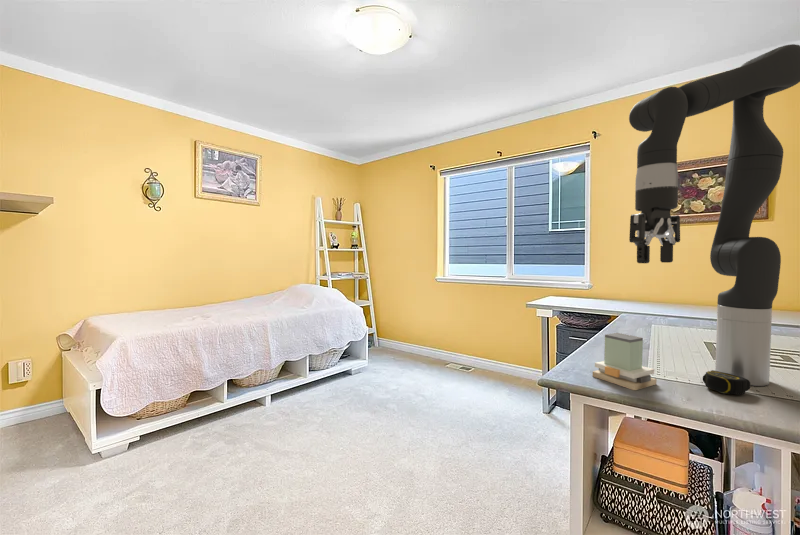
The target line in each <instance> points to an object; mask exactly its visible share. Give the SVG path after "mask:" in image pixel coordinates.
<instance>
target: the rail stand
mask: <svg viewBox="0 0 800 535" xmlns="http://www.w3.org/2000/svg"><path fill="white" fill-rule="evenodd" d="M651 375H652V374H651ZM651 375H647V376H643V377H639V378H637V382H632V381H629V380H626V379H623V378H619V377H614V376H611V375H608V374H605V373H604V372H600V371H599V369H598V370H593V371H592V377H594V378H595V379H600V380H603V381H605V382H608V383H611V384H615V385H618V386H620V387H624V388H627V389H629V390H632V391H637V390H641V389H645V388H649V387H652V386H656V385H657V383H658V382H657V378H654V377H652V376H651Z"/></svg>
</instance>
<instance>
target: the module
mask: <svg viewBox="0 0 800 535" xmlns="http://www.w3.org/2000/svg"><path fill="white" fill-rule="evenodd" d="M643 341H644V340H643V337H640V336H635V335H631V334H630V335H629V334H627V333H622V332H621V333H620V332H612V333H607V334H604V359H603V361H604V364H607V365H611V366H614V367H618V368H621V369H624V370H628V371H632V370H636V369H640V368H642V366H643V345H644V342H643Z"/></svg>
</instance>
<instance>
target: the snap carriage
mask: <svg viewBox="0 0 800 535" xmlns="http://www.w3.org/2000/svg"><path fill="white" fill-rule="evenodd" d="M594 368H597V369H598V370H599V371H600V372H604V373H605V374H608V375H611V376H614V377H619V378H623V379H626V380H629V381H632V382H637V378H639V377H643V376H647V375H653V374H655V368H651V367H648V366H643V365H642V368H640V369H636V370H632V371H628V370H624V369H621V368H618V367H614V366H611V365H607V364H604V360H602V361H596V362H594Z"/></svg>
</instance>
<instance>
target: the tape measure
mask: <svg viewBox="0 0 800 535" xmlns="http://www.w3.org/2000/svg"><path fill="white" fill-rule="evenodd" d="M702 381H703V383H704V385H705V386H706V388H708V389H710V390H713V391H716V392H717V393H720V394H724V395H744V394H745V393H746V392H747V391H749V390H750V388H751V385H750V382H749V380H748V379H746V378H743V377H740V376H736V375H733V374H729V373H724V372H719V371H715V370H713V369H712V370H710V371H709V370H708V371H706V372H705V373H704V374H703V376H702Z"/></svg>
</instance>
